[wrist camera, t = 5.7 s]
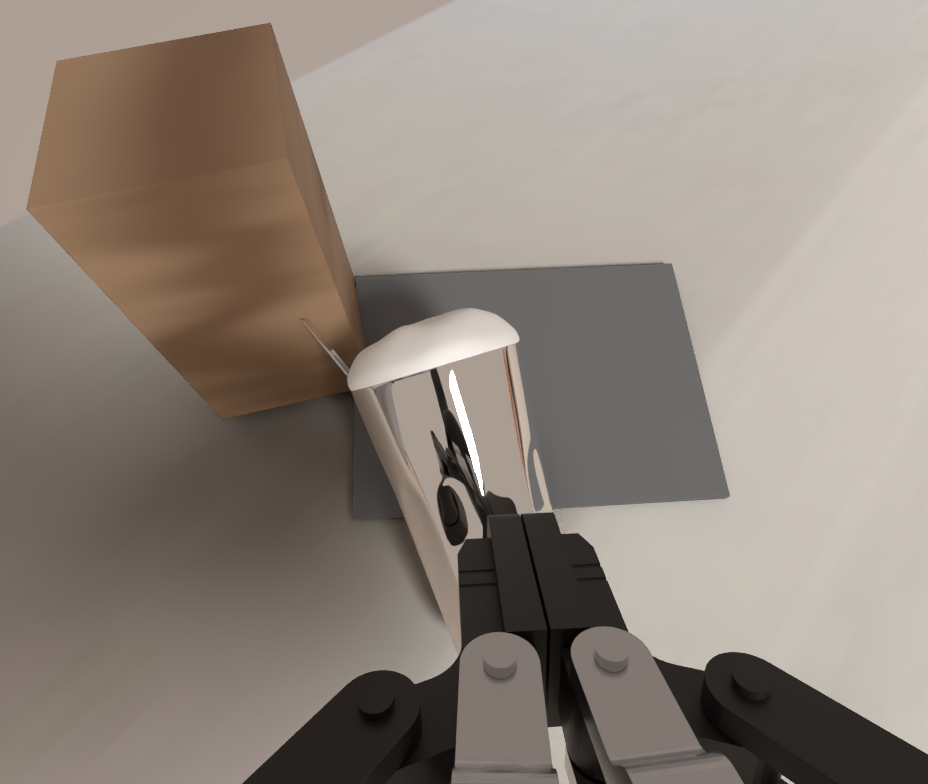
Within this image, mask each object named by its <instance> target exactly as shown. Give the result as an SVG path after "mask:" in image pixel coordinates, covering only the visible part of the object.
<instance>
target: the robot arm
mask: <svg viewBox="0 0 928 784" xmlns="http://www.w3.org/2000/svg"><path fill="white" fill-rule="evenodd" d="M457 555H458V582H459V609H460V628H461V651H460V654H459V656H458V658H457V659H456V661H455V662H454V663H453V664H452V666H451V667H450V668H448V669H447V670H446V671H445V672H443V673H442V674H440V675H438V676H436V677H434V678H432V679H429V680H426V681H423V682H421V683H418V684H414V683H413V682H412V681H411V680H410V679H409V678H407V677H406V676H404V675H402V674H400V673H397V672H394V671H387V670H379V671H373V672H369V673H366V674H363V675H361V676H359V677H357V678H355V679H354V680H352V681H351V682H350V683H349V684H347V685H346V686H345V687H344V688H343V689H342V690H341V691H340V692H339V693H338V694H337V695H336V696H335V697H333V698H332V699H331V700H330V701H329V702H328V703H327V704H326V705H325V706H324V707H323V708H322V709H321V710H320V711H319V712H318V713H317V714H315V715H314V716H313V717H312V718H311V719H310V720H309V721H308V722H307V723H306V724H305V725H304V726H303V727H302V728H301V729H300V730H299V731H298V732H296V733H295V734H294V735H293V736H292V737H291V738H290V739H289V740H288V741H287V742H286V743H285V744H284V745H283V746H282V747H281V748H280V749H278V750H277V751H276V752H275V753H274V754H273V755H272V756H271V757H270V758H269V759H268V760H267V761H266V762H265V763H264V764H263V765H262V766H260V767H259V768H258V769H257V770H256V771H255V772H254V773H253V774H252V775H251V776H250V777H249V778H248V779H247V780H246V781H245V782H244V783H242V784H559V781H558V775H557V771H556V769H553V767H552V760H551V752H550V743H549V734H548V727H557V726H562V728H563V733H564V737H565V742H566V750H565V768H566V772H567V776H568V779H569V783H570V784H788V783H787V782H785V781H784V780H782V779H781V775H783V776H785V777H786V778H788V779H789V780H791V781H792V782H793V783H795V784H928V754H926V753H924V752H923V751H921V750H919V749H917V748H916V747H914V746H912V745H910V744H909V743H907V742H905V741H904V740H902V739H900V738H898V737H897V736H895V735H893V734H891V733H890V732H888V731H886V730H885V729H883V728H881V727H879V726H878V725H876V724H874V723H872V722H871V721H869V720H867V719H866V718H864V717H862V716H860V715H859V714H857V713H855V712H853V711H852V710H850V709H848V708H847V707H845V706H843V705H841V704H840V703H838V702H836V701H834V700H833V699H831V698H829V697H828V696H826V695H824V694H822V693H821V692H819V691H817V690H815V689H814V688H812V687H810V686H809V685H807V684H805V683H803V682H802V681H800V680H798V679H796V678H795V677H793V676H791V675H790V674H788V673H786V672H784V671H783V670H781V669H779V668H777V667H776V666H774V665H772V664H771V663H769V662H767V661H765V660H763V659H761V658H758V657H756V656H753V655H749V654H745V653H739V652H728V653H722V654H719V655H717V656H715V657H713V658H712V659H711V660H710V661H709V662H708V663H707V665H706V668H705V671H702V670H698V669H693V668H688V667H683V666H679V665H674V664H670V663H667V662H664V661H662V660H659V659H657V658H655V657H653V656H652V655H651V653H650V651H649V650H648V648H647V647H646V646H645V644H644V643H643V642H642V641H641V640H639V639H638V638H637V637H636V636H634V635H632V634H631V633H629V632H628V630H627V627H626V625H625V622H624V620H623V618H622V615H621V613H620V610H619V608H618V606H617V603H616V601H615V598H614V596H613V593H612V591H611V589H610V586H609V584H608V581H606V577H605V574H604V572H603V569H602V567H600V562H599V560H598V557H597V555H596V552H595V550H594V548H593V546H592V545H590V544H589V543H588V542H587V541H586V540H585V539H584V538H583V537H582V536H581V535H579V534H578V533H575V534H561V533H560V530H559V527H558V524H557V521H556V518H555V515H554V513H553V512H546V513H525V514H521V516H520V515H519V514H507V515H488V516H487V538H476V539H466V540H465V542H464V543H463V545H462V547H461V549H460V550H459V552H458V554H457Z"/></svg>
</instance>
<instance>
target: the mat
mask: <svg viewBox="0 0 928 784" xmlns="http://www.w3.org/2000/svg"><path fill="white" fill-rule="evenodd" d="M356 295H357V300H358V306H359V311H360V317H361V322H362V328H363V333H364V339H365V345H366V348H367V347H369V346H370V345H372V344H374V343H376V342H378V341H379V340H381V339H382V338H384V337H385V336H386V335H388V334H389V333H390V332H392V331H394V330H395V329H397V328H399V327H402V326H406V325H411V324H414V323H417V322H419V321H422V320H425V319H428V318H431V317H435V316H439V315H442V314H444V313H447V312H450V311H454V310H458V309H464V308H476V309H480V310H484V311H488V312H491V313H494V314H496V315H498V316H499V317H501V318H502V319H504V320H505V321H506V322H507V323H509V324H510V325H511V326H512V327H513V328H514V329H515V330H516V332H517V333H518V336H519V342H520V345H521V350H522V355H523V361H524V366H525V372H526V377H527V383H528V388H529V394H530V399H531V404H532V410H533V415H534V421H535V426H536V432H537V437H538V442H539V447H540V452H541V457H542V461H543V466H544V471H545V475H546V480H547V485H548V489H549V494H550V499H551V503H552V508H553V509H556V508H572V507H589V506H606V505H623V504H640V503H657V502H674V501H691V500H707V499H724V498H728V497H729V496H730V495H729V491H728V487H727V483H726V479H725V475H724V471H723V467H722V463H721V458H720V454H719V450H718V446H717V442H716V438H715V434H714V430H713V426H712V422H711V418H710V414H709V410H708V406H707V402H706V398H705V394H704V390H703V386H702V382H701V378H700V374H699V370H698V366H697V362H696V358H695V354H694V350H693V346H692V342H691V338H690V334H689V330H688V326H687V322H686V318H685V314H684V310H683V306H682V302H681V298H680V294H679V290H678V286H677V282H676V278H675V274H674V270H673V266H672V264H650V265H625V266H601V267H577V268H552V269H528V270H504V271H479V272H455V273H431V274H406V275H382V276H358V277H356ZM387 518H404V515H403V513H402V510H401V508H400V505H399V503H398V500H397V498H396V496H395V494H394V491H393V489H392V487H391V485H390V482H389V480H388V478H387V476H386V474H385V471H384V469H383V467H382V464H381V462H380V460H379V457H378V455H377V453H376V450H375V448H374V446H373V443H372V441H371V438H370V436H369V434H368V431H367V429H366V427H365V424H364V422H363V420H362V417H361V415H360V412H359V410H358V408H357V405H356V403H355V401H354V453H353V520H370V519H387Z"/></svg>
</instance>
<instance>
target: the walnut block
mask: <svg viewBox="0 0 928 784" xmlns="http://www.w3.org/2000/svg"><path fill="white" fill-rule="evenodd" d="M27 210H28V211H29V213H30V214H31V215H32V216H33V217H34V218H35V219H36V220H37V221H38V222H39V223H40V224H41V225H42V226H43V228H44V229H45V230H46V231H47V232H48V233H49V234H50V235H51V236H52V237H53V238H54V239H55V240H56V241H57V243H58V244H59V245H60V246H61V247H62V248H63V249H64V250H65V251H66V252H67V253H68V254H69V255H70V256H71V258H72V259H73V260H74V261H75V262H76V263H77V264H78V265H79V266H80V267H81V268H82V269H83V270H84V271H85V273H86V274H87V275H88V276H89V277H90V278H91V279H92V280H93V281H94V282H95V283H96V284H97V285H98V286H99V288H100V289H101V290H102V291H103V292H104V293H105V294H106V295H107V296H108V297H109V298H110V299H111V300H112V301H113V303H114V304H115V305H116V306H117V307H118V308H119V309H120V310H121V311H122V312H123V313H124V314H125V315H126V316H127V318H128V319H129V320H130V321H131V322H132V323H133V324H134V325H135V326H136V327H137V328H138V329H139V330H140V331H141V333H142V334H143V335H144V336H145V337H146V338H147V339H148V340H149V341H150V342H151V343H152V344H153V345H154V346H155V348H156V349H157V350H158V351H159V352H160V353H161V354H162V355H163V356H164V357H165V358H166V359H167V360H168V361H169V363H170V364H171V365H172V366H173V367H174V368H175V369H176V370H177V371H178V372H179V373H180V374H181V375H182V376H183V378H184V379H185V380H186V381H187V382H188V383H189V384H190V385H191V386H192V387H193V388H194V389H195V390H196V391H197V393H198V394H199V395H200V396H201V397H202V398H203V399H204V400H205V401H206V402H207V403H208V404H209V405H210V406H211V408H212V409H213V410H214V411H215V412H216V413H217V414H218V415H219V416H220V417H221V418H222V419H227V418H231V417H236V416H240V415H245V414H249V413H254V412H258V411H263V410H267V409H271V408H276V407H280V406H285V405H289V404H294V403H298V402H302V401H307V400H311V399H316V398H320V397H325V396H329V395H334V394H338V393H342V392H347V391H351V390H350V389H349V387H348V383H347V376H346V375H345V374H344V372H343V371H342V370H341V369H340V367H339V366H338V365H337V364H336V362H335V361H334V360H333V359H332V358H331V356H330V355H329V354H328V353H327V351H326V350H325V349H324V348H323V347H322V345H321V344H320V343H319V342H318V340H317V339H316V338H315V337H314V336H313V334H312V333H311V332H310V331H309V329H308V328H307V327H306V326H305V324H304V323H303V322H302V320H310V321H311V322H312V323H313V325H314V326H315V327H316V328H317V330H318V331H319V332H320V333H321V334H322V336H323V337H324V338H325V339H326V341H327V342H328V343H329V344H330V345H331V347H332V348H333V349H334V350H335V352H336V353H337V354H338V355H339V356H340V358H341V359H342V360H343V361H344V363H345V364H346V365H347V366H348V367H349V369H350V368H351V366H352V364H353V362H354V360H355V358H356V357H357V355H358V354H359V353H360V352H361V351H363V350H364V349H365V348H366V345H365V339H364V333H363V328H362V322H361V317H360V311H359V306H358V300H357V295H356V289H355V283H354V278H353V273H352V270H351V267H350V264H349V261H348V258H347V255H346V252H345V249H344V246H343V242H342V239H341V236H340V233H339V230H338V227H337V224H336V221H335V218H334V215H333V212H332V209H331V206H330V203H329V200H328V197H327V194H326V190H325V187H324V184H323V181H322V178H321V175H320V172H319V169H318V166H317V163H316V160H315V157H314V154H313V151H312V148H311V145H310V142H309V138H308V135H307V132H306V129H305V126H304V123H303V120H302V117H301V114H300V111H299V108H298V105H297V102H296V99H295V96H294V93H293V90H292V87H291V83H290V80H289V77H288V74H287V71H286V69H285V65H284V62H283V59H282V56H281V53H280V50H279V47H278V44H277V41H276V38H275V35H274V32H273V29H272V25H271V23H267V24H261V25H256V26H250V27H245V28H239V29H234V30H228V31H222V32H217V33H211V34H205V35H200V36H194V37H189V38H183V39H178V40H172V41H167V42H161V43H155V44H149V45H144V46H138V47H133V48H128V49H122V50H116V51H110V52H104V53H99V54H94V55H88V56H82V57H76V58H71V59H65V60H60V61H57V63H56V67H55V72H54V77H53V82H52V87H51V92H50V97H49V102H48V106H47V112H46V116H45V121H44V126H43V131H42V136H41V141H40V146H39V150H38V155H37V160H36V165H35V170H34V175H33V180H32V184H31V189H30V194H29V199H28V204H27Z"/></svg>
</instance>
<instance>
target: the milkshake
mask: <svg viewBox="0 0 928 784" xmlns="http://www.w3.org/2000/svg"><path fill="white" fill-rule="evenodd" d="M302 322H303V323H304V324H305V326H306V327H307V328H308V329H309V331H310V332H311V333H312V334H313V336H314V337H315V338H316V339H317V340H318V342H319V343H320V344H321V345H322V347H323V348H324V349H325V350H326V351H327V353H328V354H329V355H330V356H331V358H332V359H333V360H334V361H335V362H336V364H337V365H338V366H339V367H340V369H341V370H342V371H343V372H344V374H345V375H346V376H347V383H348V387H349V389H350V390H351V393H352V396H353V398H354V401H355V403H356V405H357V408H358V410H359V412H360V415H361V417H362V420H363V422H364V424H365V427H366V429H367V431H368V434H369V436H370V438H371V441H372V443H373V446H374V448H375V450H376V453H377V455H378V457H379V460H380V462H381V464H382V467H383V469H384V471H385V474H386V476H387V478H388V480H389V482H390V485H391V487H392V489H393V491H394V494H395V496H396V498H397V500H398V503H399V505H400V508H401V510H402V513H403V515H404V518H405V520H406V523H407V525H408V528H409V530H410V533H411V536H412V538H413V541H414V543H415V546H416V548H417V551H418V554H419V556H420V559H421V561H422V564H423V566H424V569H425V572H426V574H427V577H428V579H429V582H430V585H431V587H432V590H433V592H434V595H435V598H436V600H437V603H438V605H439V608H440V610H441V613H442V616H443V618H444V621H445V623H446V626H447V629H448V631H449V634H450V636H451V639H452V642H453V644H454V647H455V649H456V652H457V654H458V656H459V654H460V651H461V628H460V609H459V582H458V555H457V554H458V552H459V550H460V549H461V547H462V545H463V543H464V542H465V540H466V539H476V538H487V516H488V515H507V514H519V515H520V516H521V514H525V513H546V512H553V508H552V503H551V499H550V494H549V489H548V485H547V480H546V475H545V471H544V466H543V461H542V457H541V452H540V447H539V442H538V437H537V432H536V426H535V421H534V415H533V410H532V404H531V399H530V394H529V388H528V383H527V377H526V372H525V366H524V361H523V355H522V350H521V345H520V342H519V336H518V333H517V332H516V330H515V329H514V328H513V327H512V326H511V325H510V324H509V323H507V322H506V321H505V320H504V319H502V318H501V317H499V316H498V315H496V314H494V313H491V312H488V311H484V310H480V309H476V308H464V309H458V310H454V311H450V312H447V313H444V314H442V315H439V316H435V317H431V318H428V319H425V320H422V321H419V322H417V323H414V324H411V325H406V326H402V327H399V328H397V329H395V330H394V331H392V332H390V333H389V334H388V335H386V336H385V337H384V338H382V339H381V340H379V341H378V342H376V343H374V344H372V345H370V346H369V347H367V348H365V349H364V350H363V351H361V352H360V353H359V354H358V355H357V357H356V358H355V360H354V362H353V364H352V366H351V368H350V369H349V367H348V366H347V365H346V364H345V363H344V361H343V360H342V359H341V358H340V356H339V355H338V354H337V353H336V352H335V350H334V349H333V348H332V347H331V345H330V344H329V343H328V342H327V341H326V339H325V338H324V337H323V336H322V334H321V333H320V332H319V331H318V330H317V328H316V327H315V326H314V325H313V323H312V322H311V321H310V320H302Z"/></svg>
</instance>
